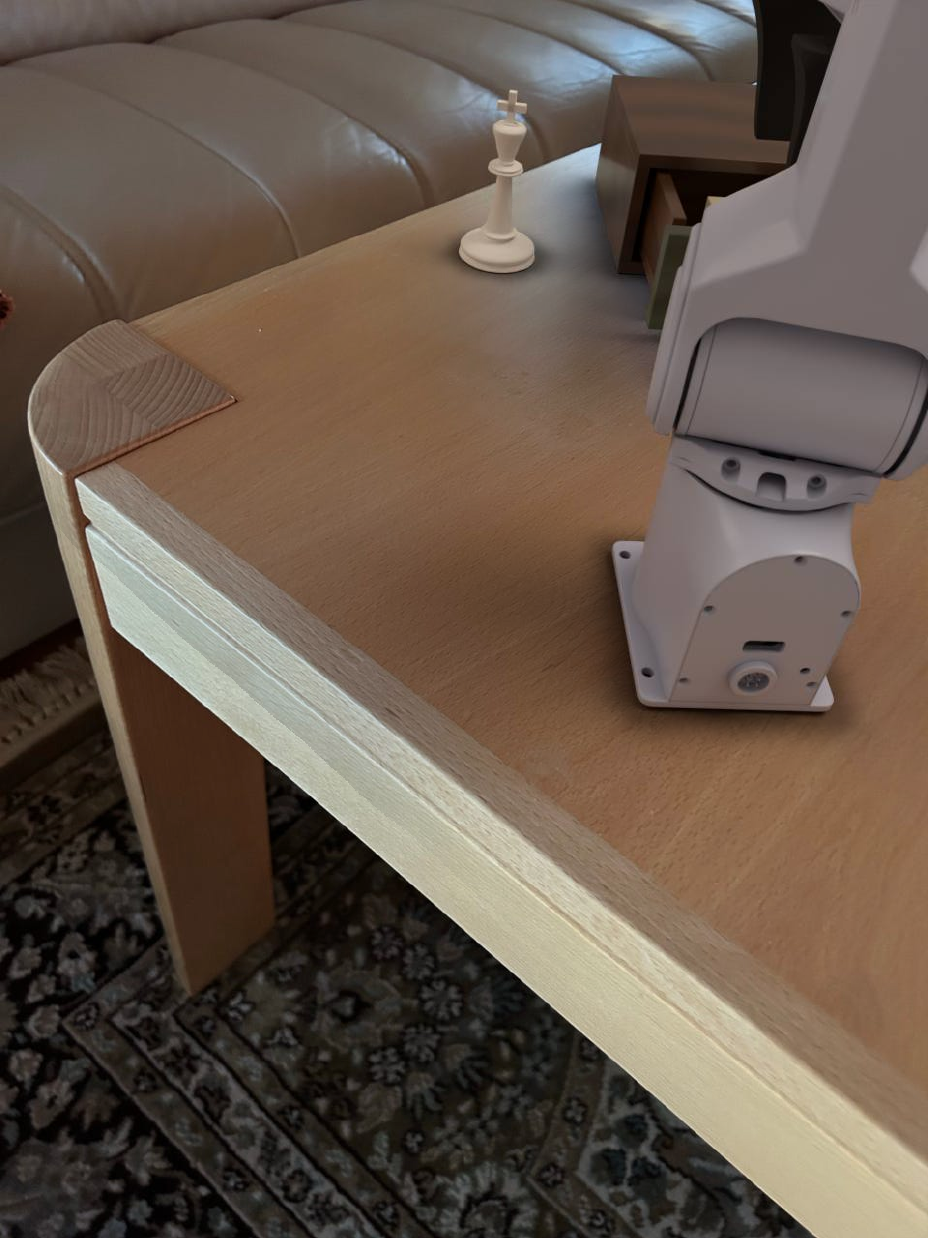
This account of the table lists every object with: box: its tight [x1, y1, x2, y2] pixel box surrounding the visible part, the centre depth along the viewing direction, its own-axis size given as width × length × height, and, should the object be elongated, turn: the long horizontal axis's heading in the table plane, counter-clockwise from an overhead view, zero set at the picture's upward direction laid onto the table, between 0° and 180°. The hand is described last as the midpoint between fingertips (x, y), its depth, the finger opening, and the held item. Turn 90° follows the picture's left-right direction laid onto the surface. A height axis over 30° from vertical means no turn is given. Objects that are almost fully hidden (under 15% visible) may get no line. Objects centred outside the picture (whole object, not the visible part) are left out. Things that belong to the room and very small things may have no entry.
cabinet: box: [594, 74, 790, 275], centre depth 68 cm, size 13×13×8 cm
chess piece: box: [458, 89, 536, 274], centre depth 63 cm, size 5×5×10 cm
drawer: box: [636, 168, 772, 331], centre depth 60 cm, size 17×11×6 cm
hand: (788, 165), depth 54 cm, fingers open, 6 cm apart
